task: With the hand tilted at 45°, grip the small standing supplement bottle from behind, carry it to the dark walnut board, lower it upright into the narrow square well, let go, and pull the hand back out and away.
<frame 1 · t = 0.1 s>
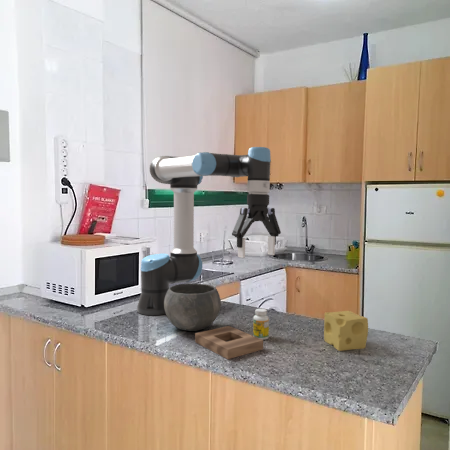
hand: (256, 256, 144), 28 cm above the worktop, tool pointing down, fingers open, 13 cm apart
supplement bottle: (260, 338, 145), on the worktop
well board: (228, 345, 137), on the worktop
bowl: (192, 328, 154), on the worktop
cheese: (344, 345, 139), on the worktop
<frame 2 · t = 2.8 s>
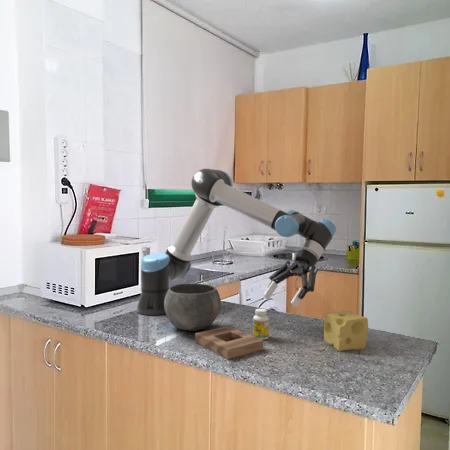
hand: (279, 301, 148), 12 cm above the worktop, tool tilted 45°, fingers open, 13 cm apart
nothing on the worktop moved.
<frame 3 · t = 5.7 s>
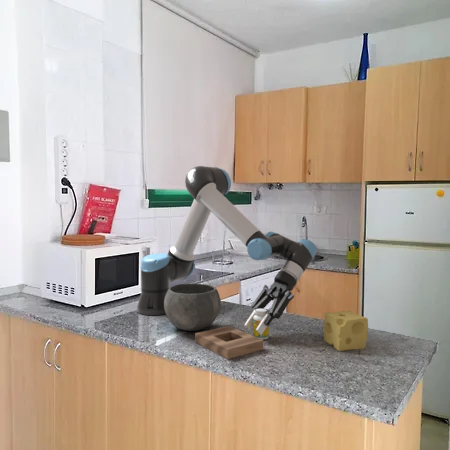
hand: (252, 329, 143), 3 cm above the worktop, tool tilted 45°, fingers closed on supplement bottle, 5 cm apart
supplement bottle: (260, 337, 145), on the worktop, touching gripper
everything else where it was.
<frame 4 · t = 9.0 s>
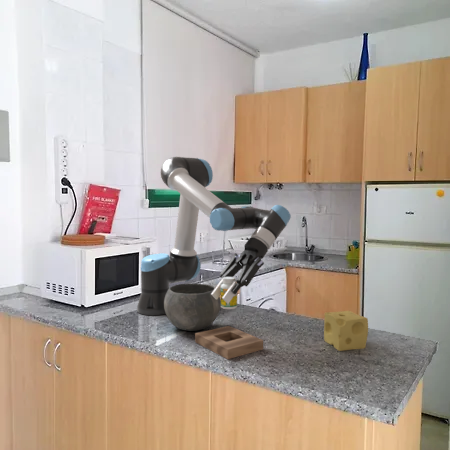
hand: (219, 298, 133), 16 cm above the worktop, tool tilted 45°, fingers closed on supplement bottle, 5 cm apart
supplement bottle: (228, 307, 136), point 12 cm above the worktop, touching gripper
everything else where it was.
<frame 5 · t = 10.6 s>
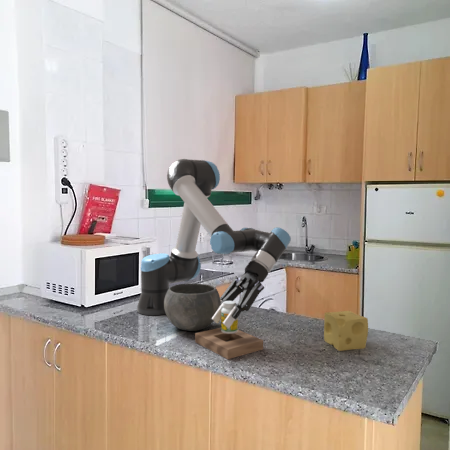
hand: (220, 323, 134), 8 cm above the worktop, tool tilted 45°, fingers closed on supplement bottle, 5 cm apart
supplement bottle: (229, 332, 136), point 5 cm above the worktop, touching gripper
everything else where it was.
when the fingers open (5 cm above the worktop, at t = 12.2 s): supplement bottle drops 1 cm, resting on well board.
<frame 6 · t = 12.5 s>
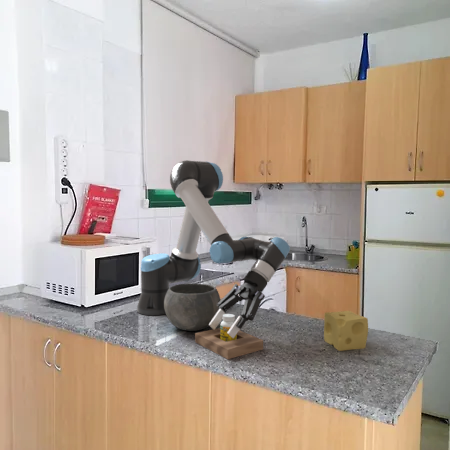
hand: (220, 331, 134), 5 cm above the worktop, tool tilted 45°, fingers open, 9 cm apart
supplement bottle: (228, 345, 137), resting on well board
everything else where it was.
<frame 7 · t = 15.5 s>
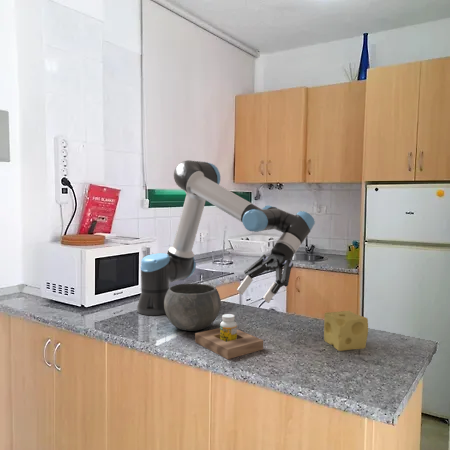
hand: (252, 296, 141), 15 cm above the worktop, tool tilted 45°, fingers open, 13 cm apart
nothing on the worktop moved.
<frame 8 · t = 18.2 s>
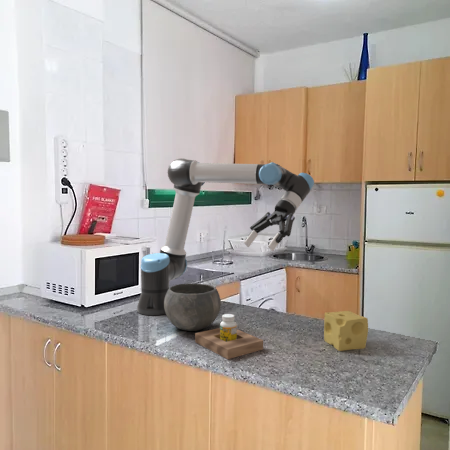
hand: (257, 246, 156), 30 cm above the worktop, tool tilted 45°, fingers open, 13 cm apart
nothing on the worktop moved.
at the end: supplement bottle 0.1 cm from the well board (horizontally); supplement bottle resting on well board; supplement bottle tilted 0° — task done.
